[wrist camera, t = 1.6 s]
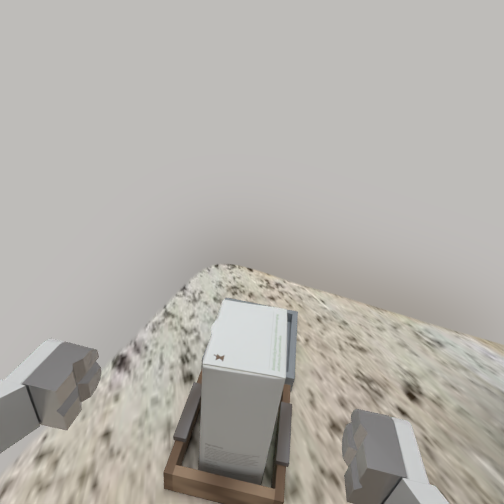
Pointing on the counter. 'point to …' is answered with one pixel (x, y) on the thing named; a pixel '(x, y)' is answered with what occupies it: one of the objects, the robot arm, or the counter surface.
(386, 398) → the counter surface
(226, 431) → the skincare box
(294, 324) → the slate tray
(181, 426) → the walnut caddy
